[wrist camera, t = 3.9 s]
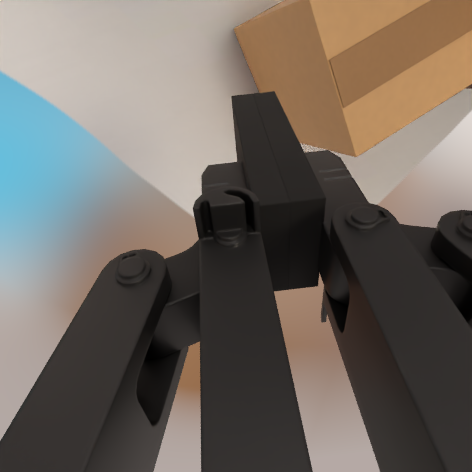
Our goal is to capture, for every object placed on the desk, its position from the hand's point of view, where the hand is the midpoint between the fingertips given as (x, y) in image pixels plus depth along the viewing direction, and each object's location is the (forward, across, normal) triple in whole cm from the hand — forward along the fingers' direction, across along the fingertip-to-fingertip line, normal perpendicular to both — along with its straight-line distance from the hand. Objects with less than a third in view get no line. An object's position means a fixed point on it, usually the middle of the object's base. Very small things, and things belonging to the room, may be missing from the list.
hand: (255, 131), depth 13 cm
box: (+23, +9, -4) cm, 25 cm away
